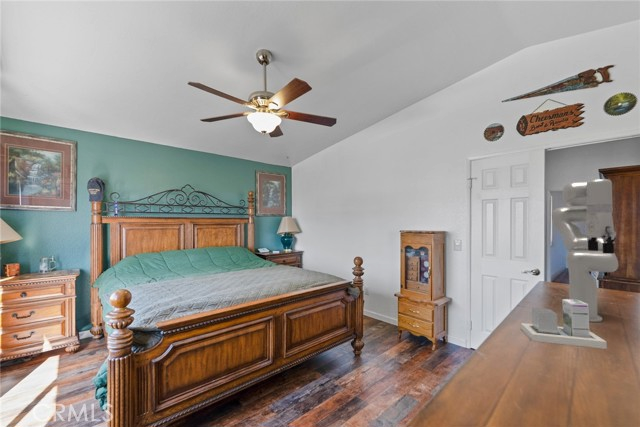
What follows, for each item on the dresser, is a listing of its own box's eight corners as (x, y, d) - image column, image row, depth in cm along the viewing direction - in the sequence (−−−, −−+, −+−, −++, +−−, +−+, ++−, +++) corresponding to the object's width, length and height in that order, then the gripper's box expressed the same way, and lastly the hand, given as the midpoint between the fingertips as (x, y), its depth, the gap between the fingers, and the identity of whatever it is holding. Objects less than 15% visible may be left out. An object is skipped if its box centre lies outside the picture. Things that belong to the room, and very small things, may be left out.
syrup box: (590, 343, 104) (589, 303, 104) (571, 342, 105) (571, 302, 105) (580, 337, 109) (579, 299, 110) (562, 335, 111) (561, 298, 111)
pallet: (521, 331, 118) (520, 323, 118) (586, 338, 111) (586, 329, 111) (532, 343, 106) (532, 334, 106) (606, 351, 100) (606, 341, 100)
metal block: (532, 332, 114) (532, 307, 114) (550, 334, 112) (549, 309, 112) (538, 338, 108) (538, 312, 108) (557, 340, 106) (557, 313, 107)
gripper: (576, 210, 125) (577, 249, 124) (601, 209, 108) (602, 254, 108) (597, 210, 122) (598, 250, 122) (626, 209, 106) (627, 254, 105)
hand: (600, 251), depth 115 cm, fingers open, 9 cm apart
